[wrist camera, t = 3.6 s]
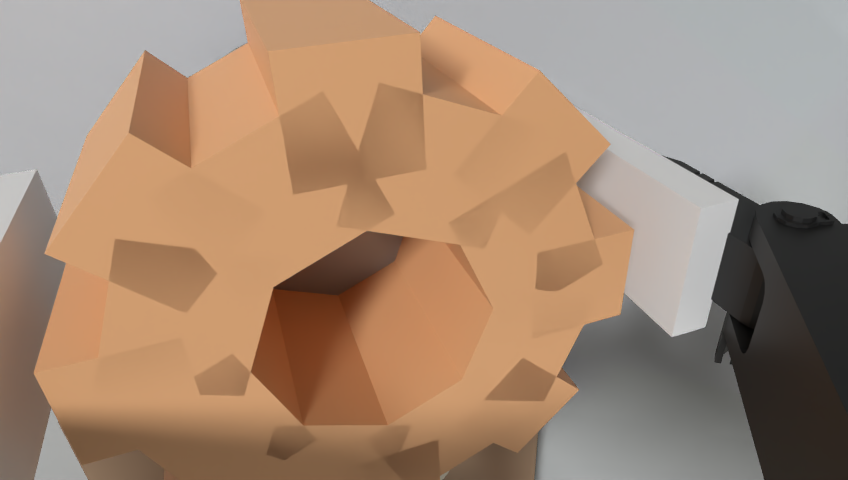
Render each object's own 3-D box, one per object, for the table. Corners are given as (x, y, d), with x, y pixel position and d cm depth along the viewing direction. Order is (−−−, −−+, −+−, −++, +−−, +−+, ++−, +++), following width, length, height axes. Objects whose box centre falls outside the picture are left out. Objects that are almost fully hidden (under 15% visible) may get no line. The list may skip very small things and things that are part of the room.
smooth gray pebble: (361, 26, 17) (435, 85, 12) (376, 187, 19) (442, 289, 15) (172, 48, 15) (169, 125, 11) (216, 217, 18) (229, 341, 13)
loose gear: (530, -34, 11) (671, 0, 8) (514, 332, 16) (598, 446, 13) (-7, 20, 9) (-111, 99, 6) (158, 430, 14) (152, 600, 10)
